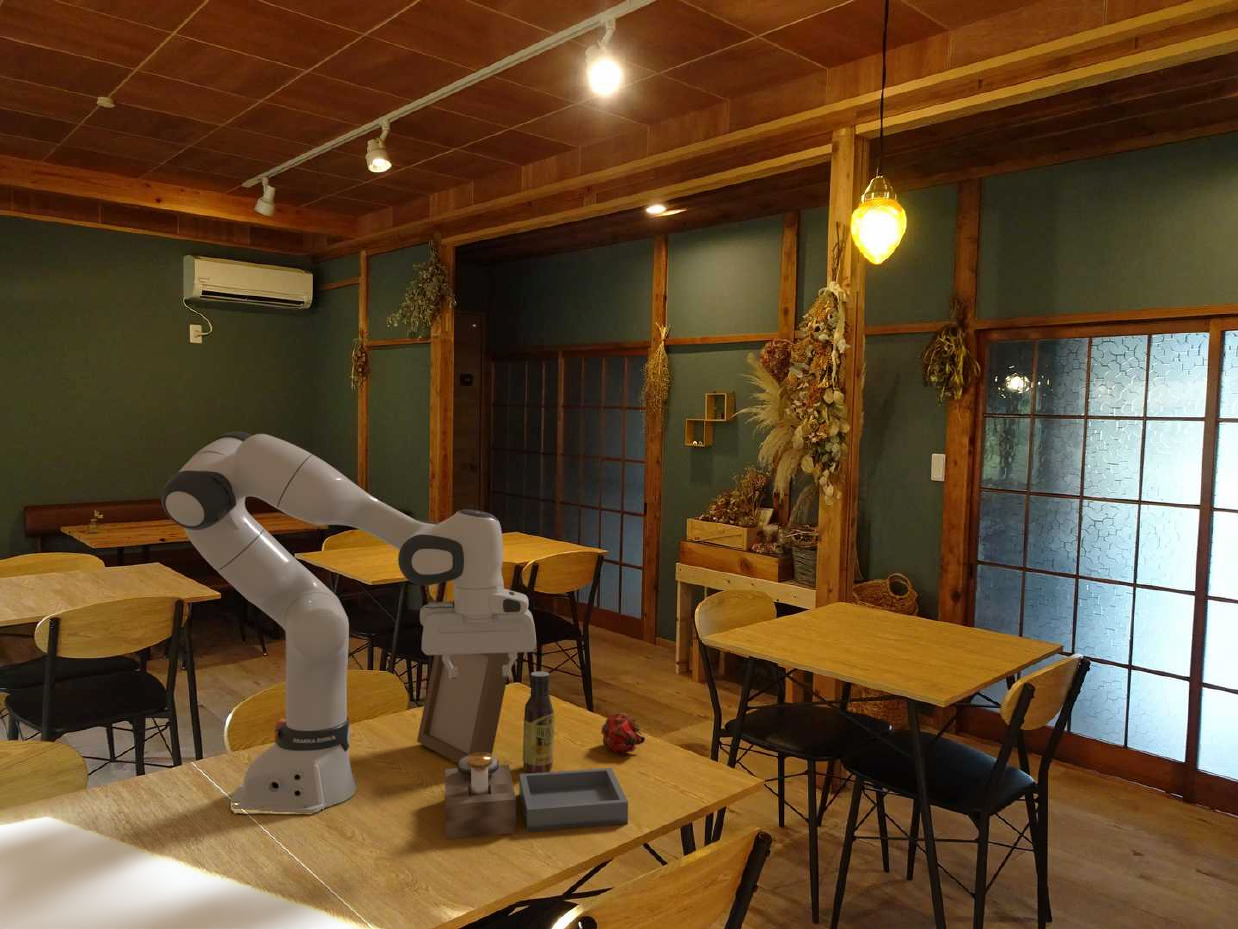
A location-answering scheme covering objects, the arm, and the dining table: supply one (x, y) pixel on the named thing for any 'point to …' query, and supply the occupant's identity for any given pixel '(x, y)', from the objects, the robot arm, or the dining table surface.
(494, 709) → the photo frame
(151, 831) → the dining table surface
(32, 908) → the dining table surface
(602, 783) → the tray
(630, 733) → the dragon fruit
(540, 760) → the sauce bottle
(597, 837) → the dining table surface
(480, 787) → the lock pin
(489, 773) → the brown block with knob
